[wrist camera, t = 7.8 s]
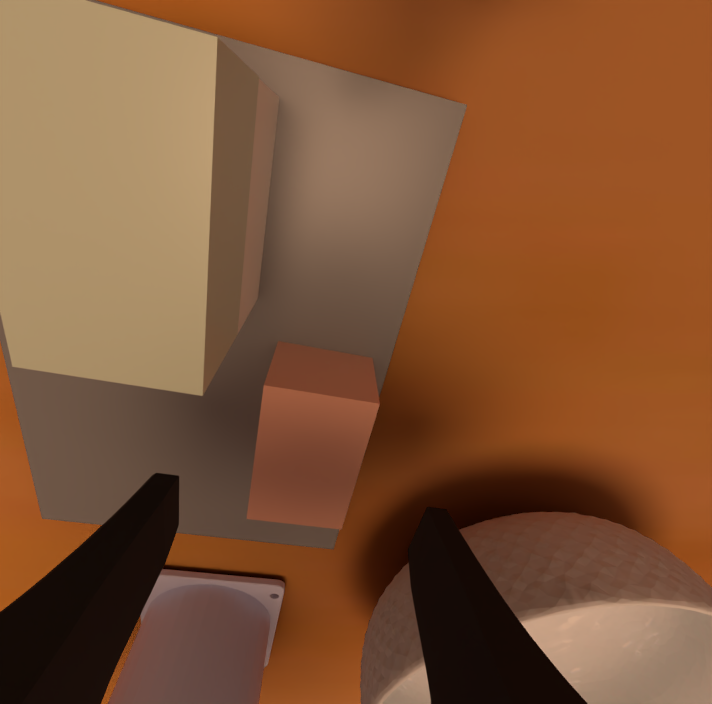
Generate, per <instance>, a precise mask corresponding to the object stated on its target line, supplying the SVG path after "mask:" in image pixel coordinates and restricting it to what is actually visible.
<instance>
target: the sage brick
mask: <svg viewBox="0 0 712 704" xmlns="http://www.w3.org/2000/svg"><path fill="white" fill-rule="evenodd" d="M258 85H259V76H258V75H257V74H256V73H255V72H254V71H252V70H251V69H250V68H249V67H248V66H247V65H246V64H245V63H244V62H243V61H242V60H241V59H240V58H239V57H238V56H237V55H236V54H235V53H234V52H233V51H232V50H230V49H229V48H228V47H227V46H226V45H225V44H224V43H223V42H222V41H221V40H220V39H219V38H218V37H215V36H212V35H208V34H205V33H201V32H197V31H194V30H190V29H187V28H183V27H180V26H176V25H172V24H169V23H165V22H162V21H158V20H155V19H151V18H147V17H144V16H140V15H137V14H133V13H129V12H126V11H122V10H119V9H115V8H112V7H108V6H104V5H101V4H97V3H94V2H90V1H87V0H0V314H1V319H2V323H3V327H4V332H5V336H6V340H7V345H8V349H9V354H10V358H11V362H12V367H18V368H24V369H31V370H37V371H44V372H50V373H57V374H63V375H70V376H76V377H83V378H89V379H96V380H102V381H109V382H115V383H122V384H128V385H135V386H141V387H148V388H154V389H161V390H167V391H174V392H180V393H187V394H193V395H200V396H203V395H204V393H205V391H206V389H207V387H208V386H209V384H210V382H211V380H212V379H213V377H214V375H215V373H216V372H217V370H218V368H219V366H220V364H221V363H222V361H223V359H224V357H225V356H226V354H227V352H228V350H229V349H230V347H231V345H232V343H233V342H234V340H235V338H236V336H237V334H238V322H239V310H240V298H241V286H242V274H243V263H244V251H245V239H246V227H247V215H248V203H249V192H250V180H251V168H252V156H253V144H254V132H255V121H256V109H257V97H258Z"/></svg>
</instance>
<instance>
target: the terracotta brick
mask: <svg viewBox="0 0 712 704" xmlns="http://www.w3.org/2000/svg"><path fill="white" fill-rule="evenodd" d="M379 405H380V402H379V395H378V389H377V383H376V377H375V370H374V364H373V358H371V357H365V356H359V355H354V354H348V353H342V352H337V351H331V350H326V349H320V348H314V347H309V346H303V345H298V344H292V343H286V342H281V341H278V343H277V346H276V349H275V352H274V356H273V359H272V362H271V365H270V368H269V371H268V374H267V377H266V380H265V383H264V387H263V395H262V403H261V410H260V418H259V426H258V434H257V441H256V449H255V457H254V465H253V472H252V480H251V488H250V495H249V503H248V511H247V519H252V520H261V521H269V522H278V523H287V524H296V525H305V526H314V527H322V528H331V529H340V530H342V526H343V523H344V520H345V517H346V513H347V510H348V507H349V504H350V500H351V497H352V494H353V490H354V487H355V484H356V481H357V477H358V474H359V471H360V467H361V464H362V461H363V458H364V454H365V451H366V448H367V445H368V441H369V438H370V435H371V431H372V428H373V425H374V422H375V418H376V415H377V412H378V408H379Z"/></svg>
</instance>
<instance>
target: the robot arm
mask: <svg viewBox="0 0 712 704" xmlns="http://www.w3.org/2000/svg"><path fill="white" fill-rule="evenodd" d="M178 526H179V476H178V475H170V474H162V473H155V474H153V475H152V476H151V477H150V478H149V479H148V480H147V481H146V482H145V483H144V484H143V485H142V486H141V487H140V488H139V490H138V491H137V492H136V493H135V494H134V495H133V496H132V497H131V498H130V499H129V500H128V501H127V502H126V503H125V504H124V505H123V506H122V507H121V508H120V509H119V510H118V511H117V512H116V513H115V514H114V515H113V516H112V517H110V518H109V519H108V520H107V521H106V522H105V523H104V524H103V525H102V526H101V527H100V528H99V529H98V530H97V531H96V532H94V533H93V534H92V535H91V536H90V537H89V538H88V539H87V540H86V541H85V542H84V543H83V544H82V545H80V546H79V547H78V548H77V549H76V550H75V551H74V552H72V553H71V554H70V555H69V556H68V557H67V558H66V559H64V560H63V561H62V562H61V563H60V564H59V565H57V566H56V567H55V568H54V569H53V570H52V571H50V572H49V573H48V574H47V575H46V576H45V577H43V578H42V579H41V580H40V581H39V582H37V583H36V584H35V585H34V586H33V587H31V588H30V589H29V590H28V591H26V592H25V593H24V594H23V595H21V596H20V597H19V598H18V599H16V600H15V601H14V602H13V603H11V604H10V605H9V606H7V607H6V608H5V609H4V610H2V611H1V612H0V704H101V702H102V699H103V697H104V694H105V692H106V689H107V686H108V684H109V681H110V679H111V677H112V674H113V672H114V670H115V668H116V665H117V663H118V661H119V659H120V656H121V654H122V652H123V650H124V648H125V646H126V644H127V642H128V640H129V638H130V636H131V633H132V631H133V629H134V627H135V625H136V623H137V621H138V619H139V617H140V615H141V626H140V629H139V631H138V633H137V636H136V638H135V641H134V643H133V645H132V648H131V650H130V652H129V655H128V657H127V660H126V662H125V664H124V667H123V669H122V671H121V674H120V676H119V678H118V681H117V683H116V686H115V688H114V690H113V693H112V695H111V697H110V700H109V702H108V704H259V698H260V691H261V684H262V677H263V671H264V667H266V666H267V665H268V661H269V657H270V652H271V648H272V644H273V639H274V635H275V630H276V626H277V622H278V617H279V613H280V608H281V604H282V599H283V595H284V590H285V583H284V582H283V581H281V580H277V579H266V578H255V577H245V576H234V575H223V574H212V573H202V572H191V571H180V570H169V569H163V566H164V564H165V562H166V559H167V557H168V554H169V551H170V548H171V546H172V543H173V540H174V537H175V534H176V532H177V529H178ZM408 558H409V573H410V585H411V592H412V597H413V603H414V608H415V614H416V619H417V625H418V630H419V635H420V641H421V646H422V651H423V657H424V662H425V667H426V673H427V679H428V685H429V692H430V699H431V704H588V703H587V702H586V701H585V700H584V699H583V698H582V697H581V695H580V694H579V693H578V692H577V691H576V690H575V689H574V688H573V687H572V686H571V684H570V683H569V682H568V681H567V680H566V679H565V677H564V676H563V675H562V674H561V673H560V672H559V670H558V669H557V668H556V667H555V666H554V664H553V663H552V662H551V661H550V659H549V658H548V657H547V656H546V654H545V653H544V652H543V651H542V650H541V648H540V647H539V646H538V645H537V643H536V642H535V641H534V640H533V638H532V637H531V636H530V634H529V633H528V632H527V630H526V629H525V628H524V626H523V625H522V624H521V622H520V621H519V620H518V618H517V617H516V616H515V614H514V613H513V611H512V610H511V609H510V607H509V606H508V604H507V603H506V602H505V600H504V599H503V597H502V596H501V594H500V593H499V591H498V590H497V589H496V587H495V586H494V584H493V583H492V581H491V580H490V578H489V576H488V575H487V573H486V572H485V570H484V569H483V567H482V566H481V564H480V563H479V561H478V560H477V558H476V557H475V555H474V553H473V552H472V550H471V549H470V547H469V545H468V544H467V542H466V541H465V539H464V537H463V536H462V534H461V532H460V531H459V529H458V528H457V526H456V524H455V523H454V521H453V519H452V518H451V516H450V515H449V513H448V511H447V510H446V509H439V508H431V507H427V508H426V510H425V513H424V515H423V517H422V519H421V522H420V524H419V526H418V528H417V531H416V533H415V535H414V537H413V539H412V542H411V544H410V546H409V548H408Z"/></svg>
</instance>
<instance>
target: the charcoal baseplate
mask: <svg viewBox="0 0 712 704" xmlns="http://www.w3.org/2000/svg"><path fill="white" fill-rule="evenodd" d="M87 1H90V2H94V3H97V4H101V5H104V6H108V7H112V8H115V9H119V10H122V11H126V12H129V13H133V14H137V15H140V16H144V17H147V18H151V19H155V20H158V21H162V22H165V23H169V24H172V25H176V26H180V27H183V28H187V29H190V30H194V31H197V32H201V33H205V34H208V35H212V36H215V37H218V38H219V39H220V40H221V41H222V42H223V43H224V44H225V45H226V46H227V47H228V48H229V49H230V50H232V51H233V52H234V53H235V54H236V55H237V56H238V57H239V58H240V59H241V60H242V61H243V62H244V63H245V64H246V65H247V66H248V67H249V68H250V69H251V70H252V71H254V72H255V73H256V74H257V75H258V76H259V79H260V80H261V81H262V82H263V83H264V84H265V85H266V86H268V87H269V88H270V89H271V90H272V91H273V92H274V93H275V94H276V95H277V96H278V97H279V105H278V115H277V124H276V133H275V142H274V152H273V161H272V170H271V180H270V189H269V198H268V208H267V217H266V226H265V236H264V245H263V254H262V264H261V273H260V282H259V292H258V299H257V301H256V303H255V304H254V306H253V308H252V310H251V311H250V313H249V315H248V317H247V319H246V320H245V322H244V324H243V326H242V327H241V329H240V331H239V333H238V334H237V336H236V338H235V340H234V342H233V343H232V345H231V347H230V349H229V350H228V352H227V354H226V356H225V357H224V359H223V361H222V363H221V364H220V366H219V368H218V370H217V372H216V373H215V375H214V377H213V379H212V380H211V382H210V384H209V386H208V387H207V389H206V391H205V393H204V395H203V396H200V395H193V394H187V393H180V392H174V391H167V390H161V389H154V388H148V387H141V386H135V385H128V384H122V383H115V382H109V381H102V380H96V379H89V378H83V377H76V376H70V375H63V374H57V373H50V372H44V371H37V370H31V369H24V368H18V367H12V362H11V358H10V354H9V349H8V345H7V340H6V336H5V332H4V327H3V323H2V319H1V314H0V341H1V346H2V350H3V354H4V358H5V363H6V367H7V371H8V375H9V380H10V384H11V388H12V392H13V397H14V401H15V405H16V409H17V414H18V418H19V422H20V426H21V431H22V435H23V439H24V443H25V448H26V452H27V456H28V460H29V465H30V469H31V473H32V477H33V482H34V486H35V490H36V495H37V499H38V503H39V507H40V512H41V516H42V519H51V520H61V521H70V522H80V523H89V524H99V525H103V524H104V523H105V522H106V521H107V520H108V519H109V518H110V517H112V516H113V515H114V514H115V513H116V512H117V511H118V510H119V509H120V508H121V507H122V506H123V505H124V504H125V503H126V502H127V501H128V500H129V499H130V498H131V497H132V496H133V495H134V494H135V493H136V492H137V491H138V490H139V488H140V487H141V486H142V485H143V484H144V483H145V482H146V481H147V480H148V479H149V478H150V477H151V476H152V475H153V474H155V473H162V474H170V475H178V476H179V526H178V529H177V532H176V533H184V534H193V535H202V536H212V537H221V538H231V539H240V540H250V541H259V542H269V543H278V544H287V545H297V546H306V547H316V548H325V549H334V546H335V542H336V539H337V536H338V532H339V529H331V528H322V527H314V526H305V525H296V524H287V523H278V522H269V521H261V520H252V519H247V511H248V503H249V495H250V488H251V480H252V472H253V465H254V457H255V449H256V441H257V434H258V426H259V418H260V410H261V403H262V395H263V387H264V383H265V380H266V377H267V374H268V371H269V368H270V365H271V362H272V359H273V356H274V352H275V349H276V346H277V343H278V341H281V342H286V343H292V344H298V345H303V346H309V347H314V348H320V349H326V350H331V351H337V352H342V353H348V354H354V355H359V356H365V357H371V358H373V364H374V370H375V377H376V383H377V389H378V395H379V396H380V393H381V389H382V386H383V383H384V380H385V376H386V373H387V370H388V366H389V363H390V360H391V356H392V353H393V350H394V346H395V343H396V340H397V336H398V333H399V330H400V326H401V323H402V320H403V316H404V313H405V310H406V306H407V303H408V300H409V296H410V293H411V290H412V286H413V283H414V280H415V277H416V273H417V270H418V267H419V263H420V260H421V257H422V253H423V250H424V247H425V243H426V240H427V237H428V233H429V230H430V227H431V223H432V220H433V217H434V213H435V210H436V207H437V203H438V200H439V197H440V193H441V190H442V187H443V183H444V180H445V177H446V174H447V170H448V167H449V164H450V160H451V157H452V154H453V150H454V147H455V144H456V140H457V137H458V134H459V130H460V127H461V124H462V120H463V117H464V114H465V110H466V107H467V105H466V104H462V103H458V102H455V101H451V100H448V99H444V98H441V97H437V96H434V95H430V94H426V93H423V92H419V91H416V90H412V89H409V88H405V87H402V86H398V85H394V84H391V83H387V82H384V81H380V80H377V79H373V78H370V77H366V76H362V75H359V74H355V73H352V72H348V71H345V70H341V69H338V68H334V67H330V66H327V65H323V64H320V63H316V62H313V61H309V60H306V59H302V58H298V57H295V56H291V55H288V54H284V53H281V52H277V51H274V50H270V49H266V48H263V47H259V46H256V45H252V44H249V43H245V42H242V41H238V40H234V39H231V38H227V37H224V36H220V35H217V34H213V33H210V32H206V31H202V30H199V29H195V28H192V27H188V26H185V25H181V24H178V23H174V22H170V21H167V20H163V19H160V18H156V17H153V16H149V15H146V14H142V13H138V12H135V11H131V10H128V9H124V8H121V7H117V6H114V5H110V4H106V3H103V2H99V1H96V0H87Z"/></svg>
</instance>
